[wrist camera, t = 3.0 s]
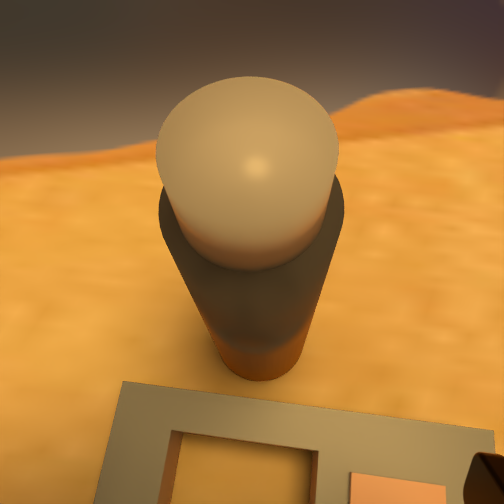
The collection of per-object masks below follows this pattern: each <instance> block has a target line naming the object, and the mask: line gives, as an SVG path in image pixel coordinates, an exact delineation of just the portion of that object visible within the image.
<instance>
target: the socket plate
mask: <svg viewBox="0 0 504 504" xmlns="http://www.w3.org/2000/svg"><path fill="white" fill-rule="evenodd" d="M183 433H189V434H196V435H203V436H210V437H217V438H224V439H231V440H238V441H245V442H252V443H259V444H266V445H273V446H280V447H287V448H294V449H301V450H308V451H313V455H312V469H311V484H310V498H309V504H464V500H463V486H464V483H465V480H466V476H467V473H468V470H469V467H470V464H471V461H472V458H473V456H474V454H475V453H477V452H487V453H494V454H495V441H494V431H493V430H486V429H478V428H471V427H463V426H456V425H448V424H441V423H433V422H426V421H418V420H411V419H403V418H396V417H388V416H381V415H373V414H366V413H359V412H351V411H344V410H336V409H329V408H321V407H314V406H306V405H299V404H291V403H284V402H276V401H269V400H261V399H254V398H246V397H239V396H231V395H224V394H217V393H209V392H202V391H194V390H187V389H179V388H172V387H164V386H157V385H149V384H142V383H134V382H127V381H123V383H122V387H121V391H120V395H119V400H118V404H117V408H116V412H115V416H114V420H113V424H112V429H111V433H110V437H109V441H108V445H107V449H106V453H105V457H104V462H103V466H102V470H101V474H100V478H99V482H98V486H97V491H96V495H95V499H94V503H93V504H170V502H171V496H172V491H173V485H174V480H175V474H176V469H177V463H178V457H179V452H180V446H181V441H182V435H183Z"/></svg>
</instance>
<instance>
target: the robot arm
mask: <svg viewBox="0 0 504 504" xmlns="http://www.w3.org/2000/svg"><path fill="white" fill-rule="evenodd" d="M463 500H464V504H504V457H503V456H502V455H499V454H494V453H487V452H477V453H475V454H474V456H473V458H472V461H471V464H470V467H469V470H468V473H467V476H466V480H465V483H464V486H463Z"/></svg>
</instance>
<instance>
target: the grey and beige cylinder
mask: <svg viewBox="0 0 504 504" xmlns="http://www.w3.org/2000/svg"><path fill="white" fill-rule="evenodd" d="M338 154H339V143H338V137H337V133H336V130H335V127H334V124H333V122H332V120H331V118H330V117H329V115H328V114H327V112H326V111H325V110H324V108H323V107H322V106H321V105H320V104H319V103H318V102H317V101H316V100H315V99H313V98H312V97H311V96H310V95H309V94H307V93H306V92H304V91H302V90H301V89H299V88H297V87H295V86H293V85H291V84H288V83H285V82H282V81H279V80H275V79H270V78H263V77H236V78H231V79H225V80H221V81H218V82H214V83H212V84H209V85H207V86H204V87H203V88H200V89H199V90H197V91H195V92H193V93H192V94H190V95H189V96H187V97H186V98H185V99H183V100H182V101H181V102H180V103H179V104H178V105H177V106H176V107H175V108H174V109H173V110H172V112H171V113H170V114H169V115H168V117H167V118H166V120H165V122H164V124H163V126H162V128H161V130H160V133H159V136H158V139H157V144H156V162H157V168H158V171H159V175H160V177H161V180H162V183H163V185H164V186H163V189H162V192H161V196H160V201H159V222H160V228H161V231H162V235H163V238H164V240H165V242H166V244H167V246H168V248H169V251H170V253H171V255H172V257H173V259H174V261H175V263H176V265H177V267H178V269H179V271H180V273H181V275H182V277H183V279H184V281H185V283H186V285H187V288H188V290H189V292H190V294H191V296H192V298H193V300H194V302H195V304H196V306H197V308H198V310H199V312H200V314H201V316H202V318H203V320H204V322H205V325H206V327H207V329H208V331H209V333H210V335H211V337H212V339H213V341H214V343H215V345H216V347H217V349H218V351H219V353H220V355H221V357H222V359H223V361H224V362H225V364H226V365H227V366H228V367H229V369H231V370H232V371H233V372H234V373H236V374H237V375H239V376H241V377H243V378H245V379H248V380H252V381H268V380H273V379H276V378H278V377H280V376H282V375H284V374H285V373H287V372H288V371H289V370H290V369H291V368H292V367H293V366H294V365H295V364H296V362H297V360H298V359H299V357H300V355H301V352H302V349H303V346H304V343H305V340H306V337H307V334H308V330H309V327H310V324H311V321H312V318H313V315H314V312H315V309H316V306H317V303H318V300H319V296H320V293H321V290H322V287H323V284H324V281H325V278H326V275H327V272H328V269H329V265H330V262H331V259H332V256H333V253H334V250H335V247H336V244H337V241H338V238H339V235H340V231H341V228H342V224H343V218H344V199H343V193H342V189H341V186H340V183H339V181H338V179H337V177H336V175H335V170H336V166H337V161H338Z"/></svg>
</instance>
